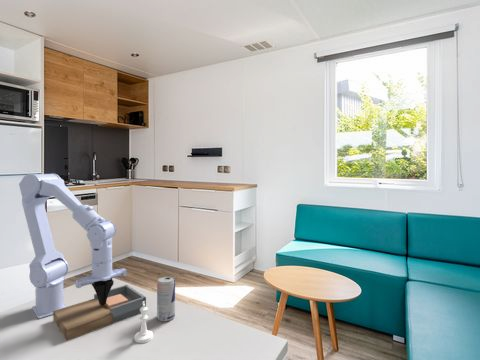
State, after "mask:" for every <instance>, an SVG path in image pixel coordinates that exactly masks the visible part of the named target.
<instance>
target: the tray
mask: <svg viewBox="0 0 480 360" xmlns="http://www.w3.org/2000/svg"><path fill="white" fill-rule="evenodd" d="M118 294H121V295H123V296H124V297H125V298H127V299H128V302H127V303H124V304H121V305H118V306H115V307H112V308H110V313H111V315H112V314H113V315H112V316H113V318H111V319H113V322H111V323H113V324H115V323H117V322H120V321H124V320H126V319H128V318H132V317H133V316H136V315H139V314H141V312H140V308H142V307H143V304H142V303H143V301H145V307H147V296H145V295H143V294H142V293H141V292H139V291H137V290H135V289H134V288H133V287H132V286H129V285H128V284H124V285H121V286H118V287H115V288H111V289H110V291H109V294H108V297H111V296H115V295H118ZM108 297H107V298H108ZM93 299H97V300H98V296H97V294H96V293H94V294H93ZM98 301H99V300H98ZM112 316H111V317H112ZM111 321H112V320H111Z"/></svg>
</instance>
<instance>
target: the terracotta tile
mask: <svg viewBox="0 0 480 360" xmlns="http://www.w3.org/2000/svg"><path fill="white" fill-rule="evenodd" d="M127 302H128V299H127V298H125V297H124V296H123V295H121V294H118V295H115V296H111V297H108V298H107V301H106V304H104V306H105V307H106V308H107V309H108V310H110V308H112V307H115V306H118V305H121V304H124V303H127Z"/></svg>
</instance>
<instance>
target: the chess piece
mask: <svg viewBox="0 0 480 360" xmlns="http://www.w3.org/2000/svg"><path fill="white" fill-rule="evenodd" d="M142 304H143V307H142V308H140V312H141V313H140V316H139V320H141V327H140V331H137V332H136V334H134V338H133V341H134V342H135V343H137V344H145V343H148V342H150V341H151V340H152V339H153V338H154V332H153V331H152V330H148V327H147V321H146V320H147V319H148V318H149V315H147V312H148V311H149V310H148V306H146V307H145V301H143V303H142Z"/></svg>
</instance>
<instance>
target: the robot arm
mask: <svg viewBox="0 0 480 360" xmlns="http://www.w3.org/2000/svg"><path fill="white" fill-rule="evenodd" d="M18 186H19V190H20V194H21V203H22V208H23V212H24V215H25V220H26V224H27V228H28V231H29V237H30V240H31V243H32V246H33V247H32V248H33V252H34V255H35V257H33V259H32V260H31V262H30V263H29V267H28V268H29V277H28V278H29V280H30V283H31V284H32V285H33V286H34V288H35V305H33V306H32V307H31V309H32V311H33V312H34V314H35V315H36V317H37V319H42V318H45V317H48V316H53V311H55V310H58V309H62V308H65V307H67V306H66V304H65V301H64V280H65V279H66V275H67V274H69V273H68V272H69V270H70V266H69V263H68V261H67V260H66V259H65V256H64V254H63V253H62V252H59V251H58V250H56V246H55V242H54V238H53V234H52V230H51V225H50V222H49V219H48V215H47V210H46V207H45V203H46V202H47V201H48V200H49V199H50V198H51V197H54V198H55V199H56V200H58V201H59V202H60V203H61V204H62V205H64V206H65V208H67V209H68V210H70V211H71V212H72V218H73V220H74V221H75V222H76V223H78V225H80V227H82V228H83V229H84V230H85V231H86V232H87V233H86V237H87V239H88V241H89V242H90V243H89V244H90V247H91V274H89V275H87V276H84V277H81V278H79V279H76V280H75V287H76V289H81V288H82V287H85V286H88V285H91V287H92V288H93V289H94V292H95V294H97V296H98V300H99V304H100V305H104V304H106V301H107V297H108V294H109V291H110V289H112V287H113V285H114V280H113V279H115V278H119V277H125V276H127V269H126V268H124V267H122V268H119V269H118V268H117V269H113V237H114V236H115V235H116V232H117V230H116V229H117V228H116V225H115V224H114V222H113V221H112V220H109V219H105V218H104V217H103V216H101V215H100V214H98V212H96V210H94V206H92V205H89V204H82V202H81V201H80V200H79V199H78V198H77V197H76V195H74V193H73V192H72V191H71V190H70V189H69V188H68V187H67V186H66V185H65V180H64V179H63V178H61V177H60V175H58V173H57V174H56V173H53V172H52V173H36V174H34V173H28V174H25V175H24V176H23V177H22V179H21V180H20V182H19V183H18Z"/></svg>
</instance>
